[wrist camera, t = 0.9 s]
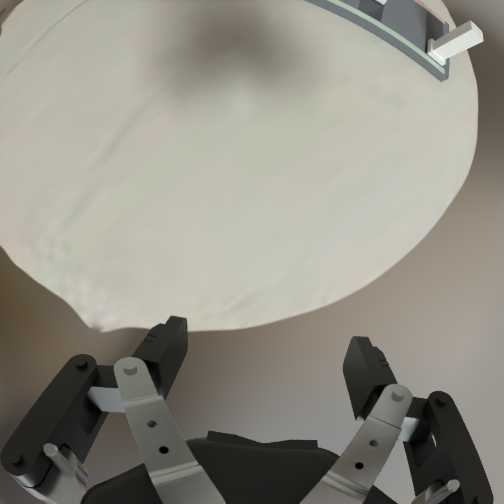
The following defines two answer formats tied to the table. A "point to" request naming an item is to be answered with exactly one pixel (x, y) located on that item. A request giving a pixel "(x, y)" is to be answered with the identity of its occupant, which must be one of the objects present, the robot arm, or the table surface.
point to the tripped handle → (382, 1)
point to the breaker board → (409, 30)
